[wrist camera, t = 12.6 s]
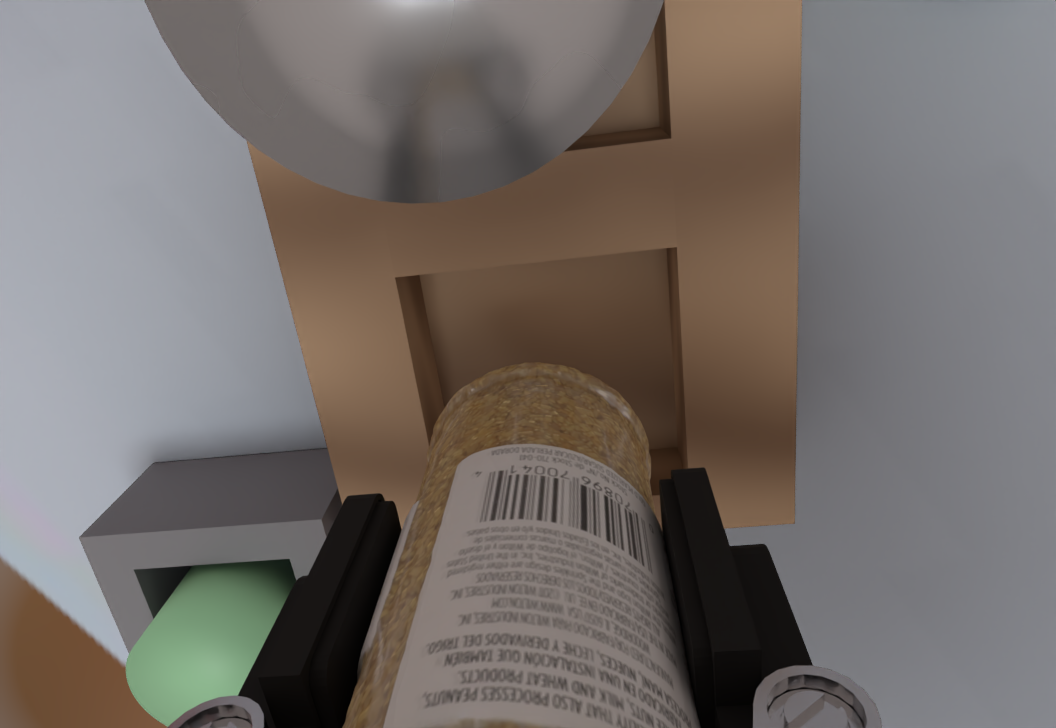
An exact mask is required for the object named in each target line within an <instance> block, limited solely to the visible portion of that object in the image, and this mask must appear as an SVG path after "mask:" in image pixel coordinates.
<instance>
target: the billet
mask: <svg viewBox="0 0 1056 728" xmlns="http://www.w3.org/2000/svg"><path fill="white" fill-rule="evenodd" d="M663 2H664V0H145V3H146V5H147V7H148V9H149V11H150V13H151V15H152V17H153V20H154V22H155V24H156V26H157V28H158V30H159V32H160V34H161V36H162V38H163V40H164V42H165V43H166V45H167V46H168V48H169V50H170V51H171V53H172V55H173V56H174V58H175V60H176V61H177V63H178V64H179V66H180V68H181V69H182V71H183V72H184V73H185V75H186V76H187V77H188V79H189V80H190V81H191V83H192V84H193V85H194V86H195V88H196V89H197V90H198V92H199V93H200V94H201V96H202V97H203V98H204V99H205V101H206V102H207V103H208V104H209V105H210V106H211V107H212V108H213V109H214V110H215V111H216V112H217V113H218V114H219V115H220V116H221V117H222V118H223V119H224V121H225V122H226V123H227V124H228V125H229V126H230V127H231V128H233V129H234V130H235V131H236V132H237V133H239V134H240V135H241V136H242V137H243V138H245V139H246V140H247V141H248V142H249V143H251V144H252V145H253V146H254V147H255V148H257V149H258V150H259V151H261V152H262V153H264V154H265V155H267V156H268V157H270V158H271V159H273V160H275V161H276V162H278V163H279V164H281V165H282V166H284V167H285V168H287V169H289V170H291V171H293V172H295V173H297V174H299V175H301V176H303V177H305V178H307V179H309V180H311V181H313V182H315V183H317V184H320V185H323V186H326V187H328V188H331V189H334V190H337V191H340V192H343V193H346V194H349V195H353V196H358V197H363V198H367V199H372V200H377V201H385V202H397V203H409V204H415V203H434V202H446V201H451V200H457V199H462V198H467V197H473V196H476V195H479V194H482V193H485V192H488V191H491V190H494V189H497V188H500V187H503V186H506V185H508V184H510V183H512V182H514V181H516V180H518V179H520V178H522V177H524V176H526V175H528V174H530V173H532V172H534V171H536V170H537V169H539V168H540V167H542V166H543V165H545V164H546V163H548V162H549V161H551V160H552V159H554V158H555V157H557V156H558V155H560V154H561V153H563V152H564V151H565V150H566V149H567V148H568V147H569V146H571V145H572V144H573V143H574V142H575V141H576V140H577V139H579V138H580V137H581V136H582V135H583V134H584V133H585V132H587V131H588V130H589V128H590V127H591V126H592V125H593V124H594V123H595V122H596V121H597V119H598V118H599V117H600V116H601V115H602V114H603V113H604V112H605V110H606V109H607V108H608V107H609V106H610V105H611V103H612V102H613V100H614V99H615V98H616V96H617V95H618V93H619V92H620V90H621V89H622V87H623V86H624V84H625V83H626V82H627V80H628V79H629V77H630V76H631V74H632V72H633V70H634V69H635V67H636V65H637V63H638V61H639V59H640V57H641V55H642V53H643V51H644V49H645V47H646V45H647V44H648V42H649V40H650V37H651V34H652V32H653V29H654V26H655V24H656V21H657V18H658V16H659V13H660V10H661V8H662V5H663Z"/></svg>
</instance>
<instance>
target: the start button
mask: <svg viewBox="0 0 1056 728" xmlns="http://www.w3.org/2000/svg"><path fill="white" fill-rule="evenodd" d="M295 582H296V578H295V575H294V571H293V568H292V565H291V562H290V559H278V560H264V561H250V562H235V563H221V564H207V565H193V566H192V567H191V568H190V570H189V571H188V572H187V574H186V575H185V577H184V578H183V579H182V581H181V582H180V583H179V585H178V586H177V588H176V589H175V590H174V592H173V593H172V594H171V596H170V597H169V599H168V600H167V601H166V603H165V604H164V605H163V607H162V608H161V609H160V611H159V612H158V614H157V615H156V616H155V618H154V619H153V620H152V622H151V623H150V625H149V626H148V627H147V629H146V630H145V631H144V633H143V634H142V636H141V637H140V638H139V640H138V641H137V642H136V644H135V645H134V647H133V648H132V650H131V651H130V653H129V656H128V658H127V663H126V677H127V681H128V685H129V687H130V690H131V692H132V693H133V695H134V697H135V698H136V700H137V701H138V703H139V704H140V705H141V706H142V707H143V708H144V709H145V710H146V711H147V712H148V713H149V714H150V715H151V716H152V717H154V718H155V719H157V720H158V721H159V722H161V723H163V724H164V725H166V726H168V727H169V725H170V724H171V723H173V722H174V721H175V720H176V719H178V718H179V717H180V716H181V715H183V714H184V713H185V712H186V711H188V710H190V709H192V708H194V707H196V706H197V705H199V704H201V703H203V702H206V701H209V700H212V699H215V698H218V697H225V696H234V695H236V696H238V694H239V692H240V690H241V688H242V686H243V684H244V682H245V680H246V678H247V676H248V674H249V672H250V670H251V668H252V666H253V664H254V662H255V660H256V658H257V656H258V654H259V652H260V650H261V648H262V646H263V644H264V642H265V641H266V639H267V637H268V635H269V633H270V631H271V629H272V627H273V625H274V623H275V621H276V619H277V617H278V615H279V613H280V611H281V609H282V607H283V605H284V603H285V601H286V599H287V597H288V595H289V593H290V591H291V589H292V587H293V585H294V584H295Z"/></svg>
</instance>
